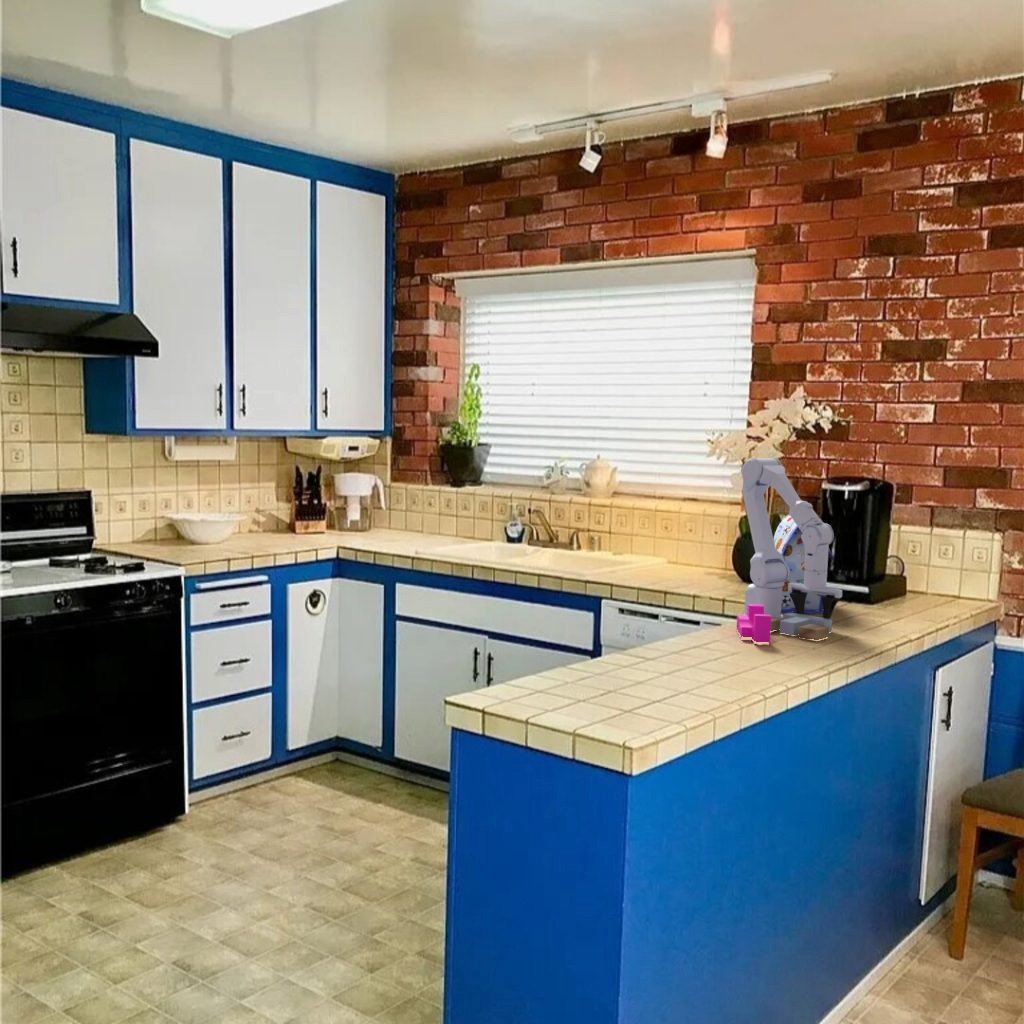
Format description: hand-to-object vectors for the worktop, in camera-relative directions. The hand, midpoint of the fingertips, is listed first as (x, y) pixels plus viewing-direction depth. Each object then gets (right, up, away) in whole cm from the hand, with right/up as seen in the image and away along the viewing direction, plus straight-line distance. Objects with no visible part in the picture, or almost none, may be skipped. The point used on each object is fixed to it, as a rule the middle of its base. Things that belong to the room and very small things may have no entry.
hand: (813, 621), depth 272 cm
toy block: (-19, -3, -13) cm, 24 cm away
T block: (-5, -2, -5) cm, 8 cm away
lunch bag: (+4, +1, +31) cm, 31 cm away
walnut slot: (-8, -3, -8) cm, 11 cm away
